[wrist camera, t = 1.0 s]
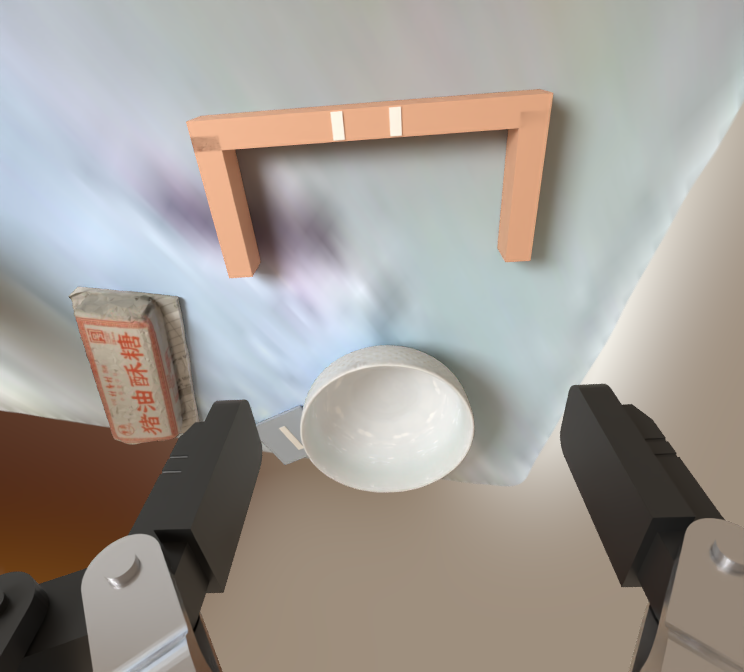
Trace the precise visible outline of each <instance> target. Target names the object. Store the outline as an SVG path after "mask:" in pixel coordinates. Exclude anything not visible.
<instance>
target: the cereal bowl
mask: <svg viewBox="0 0 744 672" xmlns="http://www.w3.org/2000/svg"><path fill="white" fill-rule="evenodd" d="M300 436H301V441H302V444H303V447H304V450H305V452H306V454H307V455H308V457H309V459H310V460H311V461H312V463H313V464H314V465H315V466H316V467H317V468H318V469H319V470H320V471H321V472H323V473H324V474H325V475H327V476H328V477H330V478H331V479H333V480H335V481H337V482H339V483H341V484H344V485H346V486H348V487H352V488H355V489H360V490H365V491H371V492H402V491H409V490H413V489H417V488H421V487H423V486H426V485H429V484H431V483H433V482H436V481H437V480H439V479H441V478H443V477H444V476H446V475H447V474H449V473H450V472H452V471H453V470H454V469H455V468H456V467H457V466H458V465H459V464H460V463H461V462H462V460H463V459H464V458H465V456H466V455H467V453H468V451H469V449H470V447H471V444H472V441H473V437H474V417H473V413H472V409H471V407H470V403H469V401H468V397H467V395H466V393H465V391H464V389H463V387H462V385H461V383H460V382H459V381H458V379H457V378H456V377H455V375H454V374H453V372H451V371H450V370H449V369H448V368H447V367H446V366H445V365H443V364H442V363H441V362H440V361H438V360H436V359H435V358H434V357H432V356H430V355H428V354H426V353H423V352H421V351H418V350H416V349H412V348H408V347H403V346H393V345H390V346H389V345H385V346H384V345H380V346H373V347H368V348H364V349H360V350H357V351H354V352H351V353H349V354H346V355H345V356H343V357H341V358H339V359H337V360H336V361H335V362H333V363H331V364H330V365H329V366H328V367H327V368H325V370H324V371H323V372H322V373H321V374H320V375H319V376H318V378H317V379H316V380H315V382H314V383H313V385H312V386H311V389H310V390H309V392H308V395H307V397H306V399H305V403H304V406H303V411H302V416H301V423H300Z"/></svg>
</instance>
